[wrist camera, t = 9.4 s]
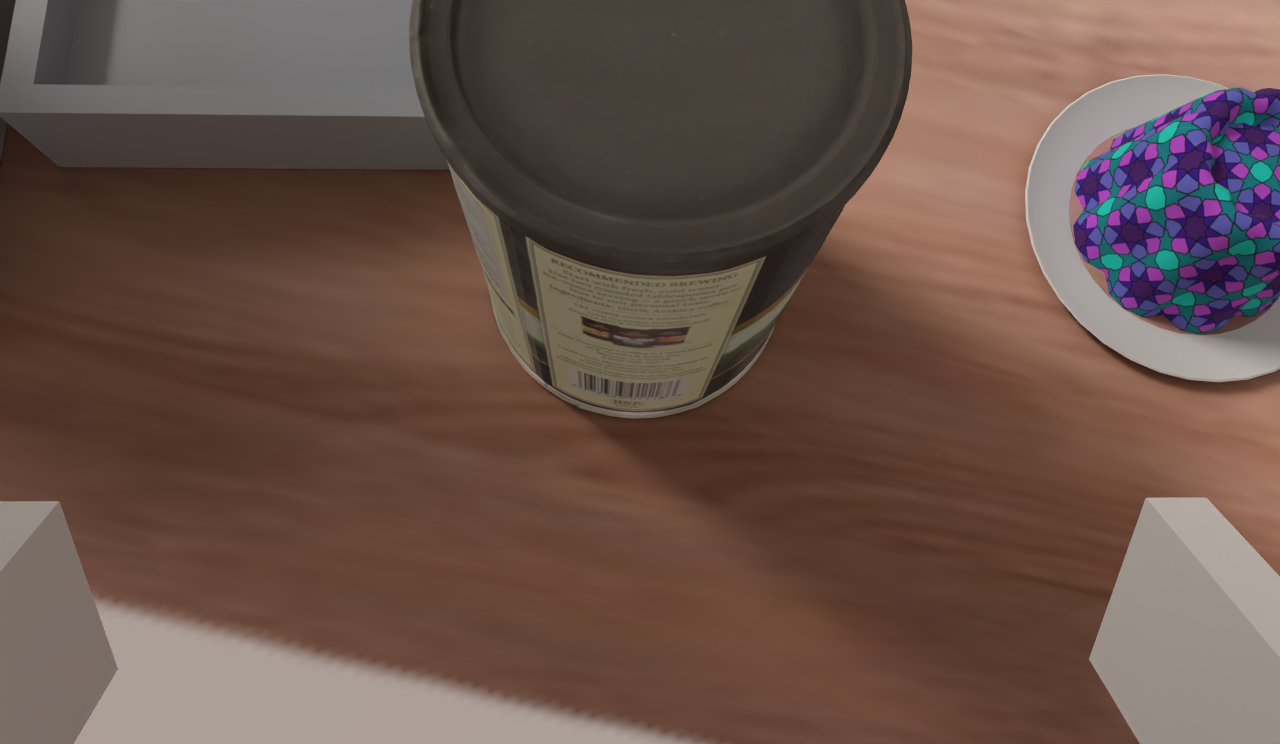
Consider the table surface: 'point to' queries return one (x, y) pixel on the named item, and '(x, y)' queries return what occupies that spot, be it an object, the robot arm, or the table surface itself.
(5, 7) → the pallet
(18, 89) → the tray
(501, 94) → the coffee can
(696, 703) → the table surface
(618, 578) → the table surface
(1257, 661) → the robot arm
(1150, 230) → the pudding
